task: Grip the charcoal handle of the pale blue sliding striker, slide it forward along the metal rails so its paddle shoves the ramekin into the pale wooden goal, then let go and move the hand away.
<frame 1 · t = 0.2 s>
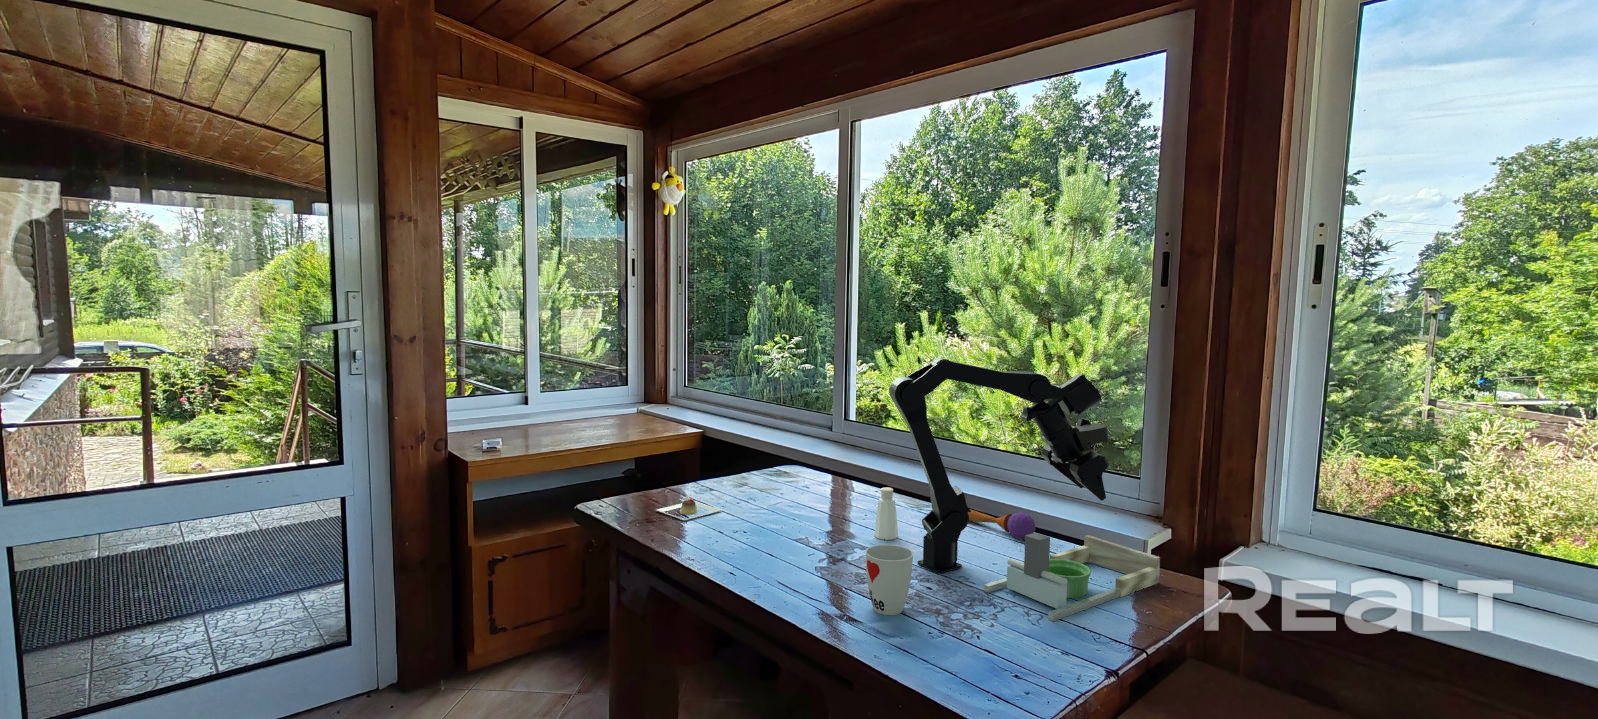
hand: (1092, 493, 144), 15 cm above the table, tool tilted 30°, fingers open, 9 cm apart
maraca: (995, 531, 167), on the table
goal: (1102, 576, 139), on the table
pepper shaker: (886, 536, 162), on the table
dessert: (688, 514, 180), on the table
cup: (888, 609, 123), on the table
striker: (1036, 566, 127), point 6 cm above the table, slide at 0.0 cm
ramekin: (1063, 591, 132), resting in goal
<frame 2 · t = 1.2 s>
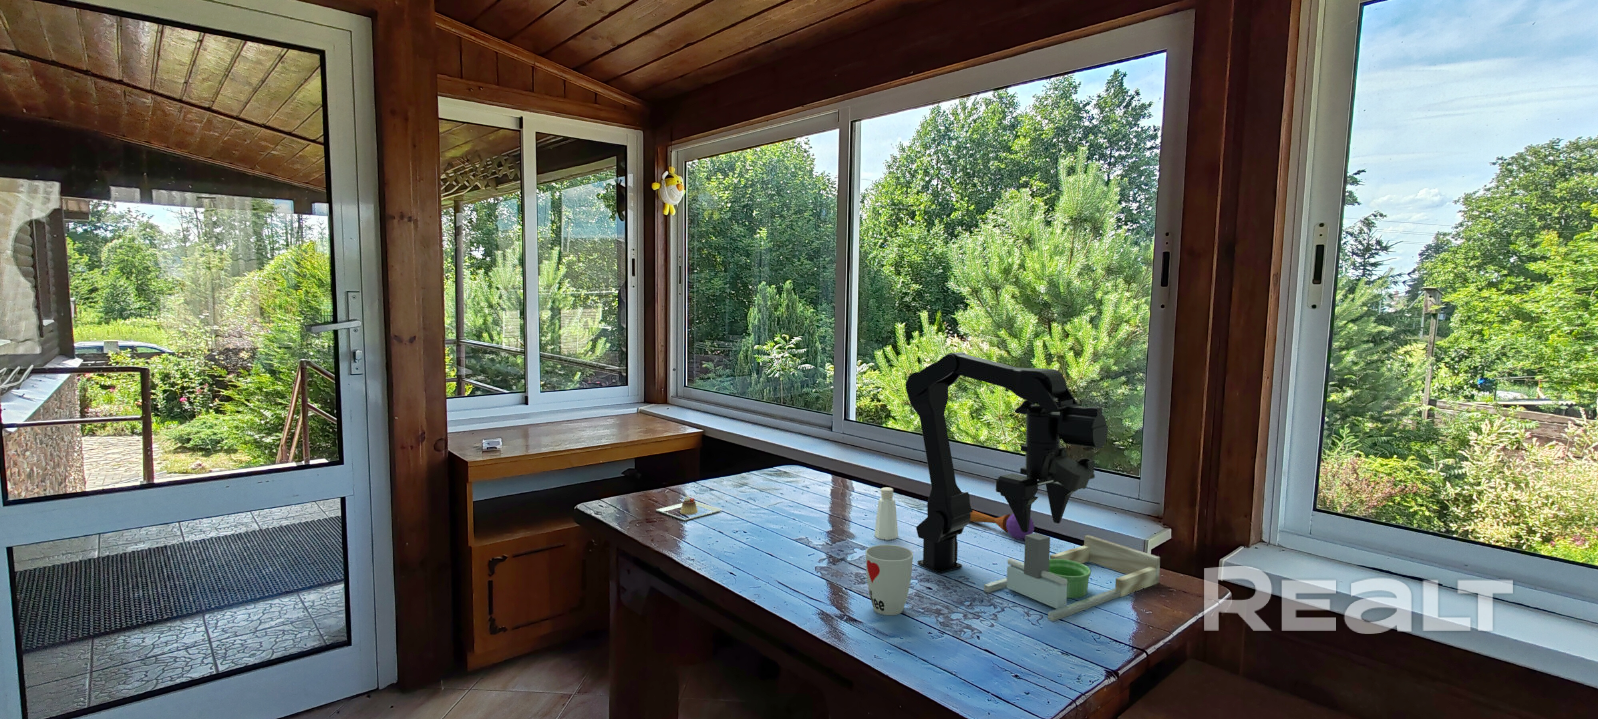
hand: (1041, 527, 127), 13 cm above the table, tool pointing down, fingers open, 9 cm apart
nothing on the table moved.
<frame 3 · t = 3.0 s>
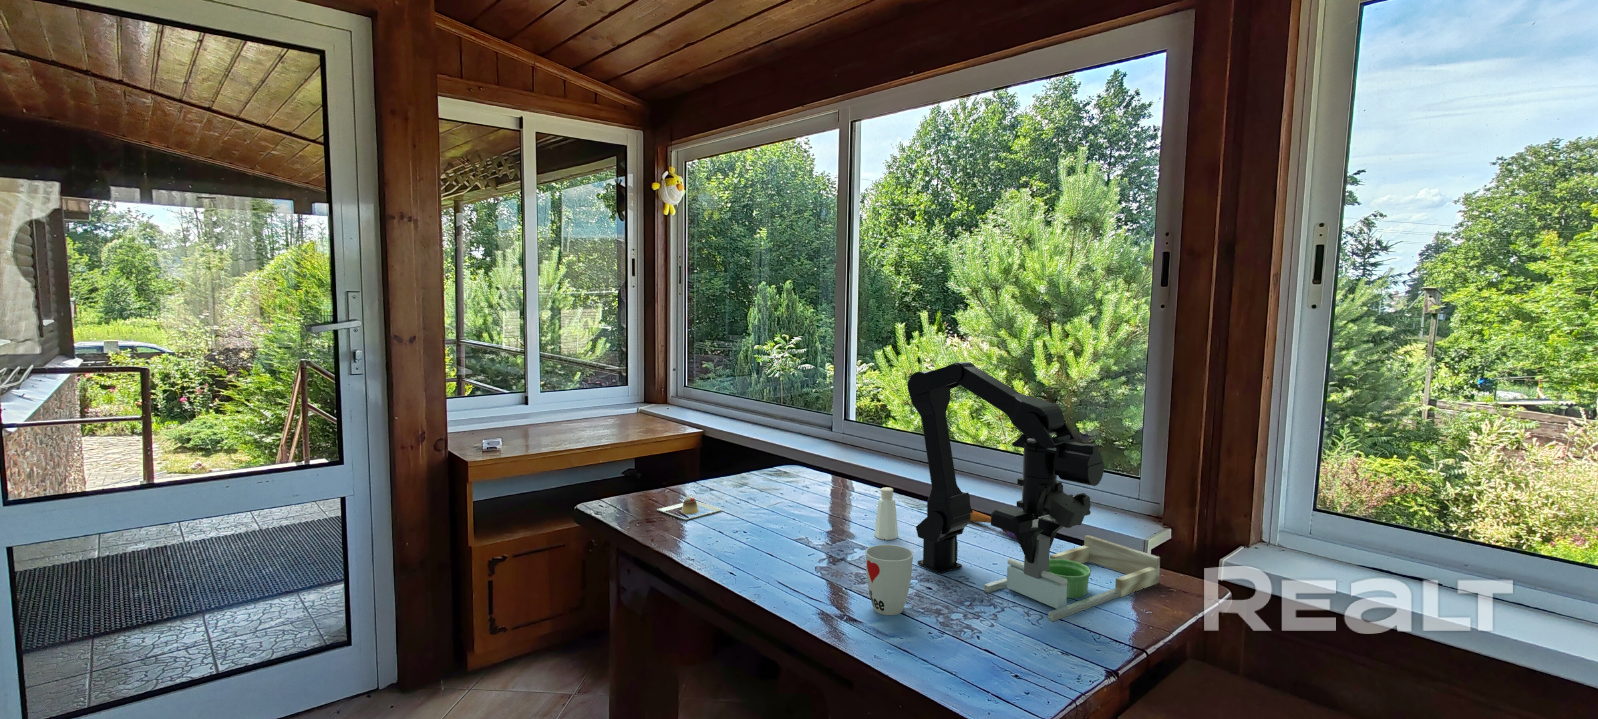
hand: (1036, 560, 127), 7 cm above the table, tool pointing down, fingers closed on striker, 3 cm apart
striker: (1036, 566, 127), point 6 cm above the table, slide at 0.0 cm, touching gripper
everything else where it was.
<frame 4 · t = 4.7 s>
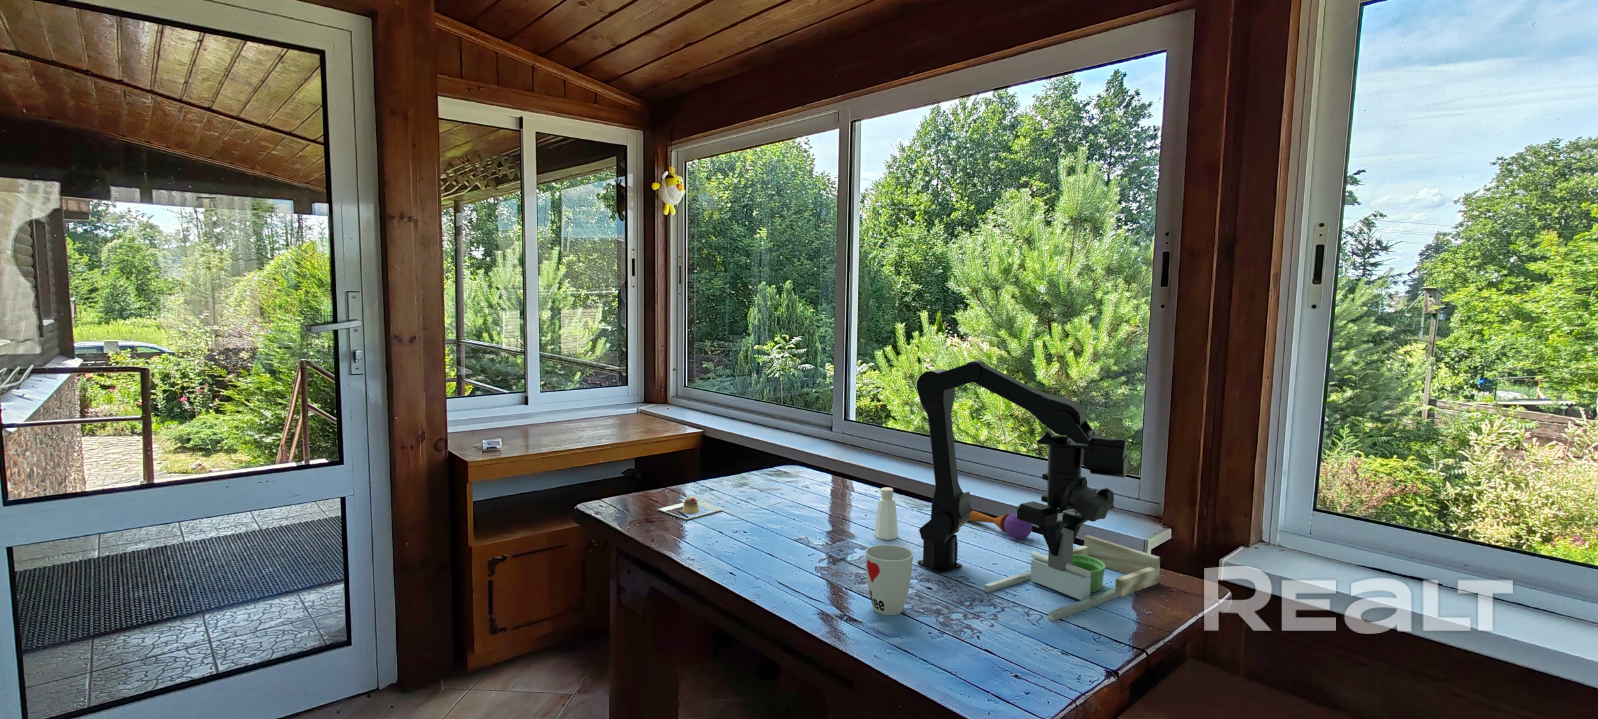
hand: (1060, 553, 131), 7 cm above the table, tool pointing down, fingers closed on striker, 3 cm apart
striker: (1060, 559, 131), point 6 cm above the table, slide at 6.7 cm, touching gripper
ramekin: (1078, 585, 134), resting in goal
everything else where it was.
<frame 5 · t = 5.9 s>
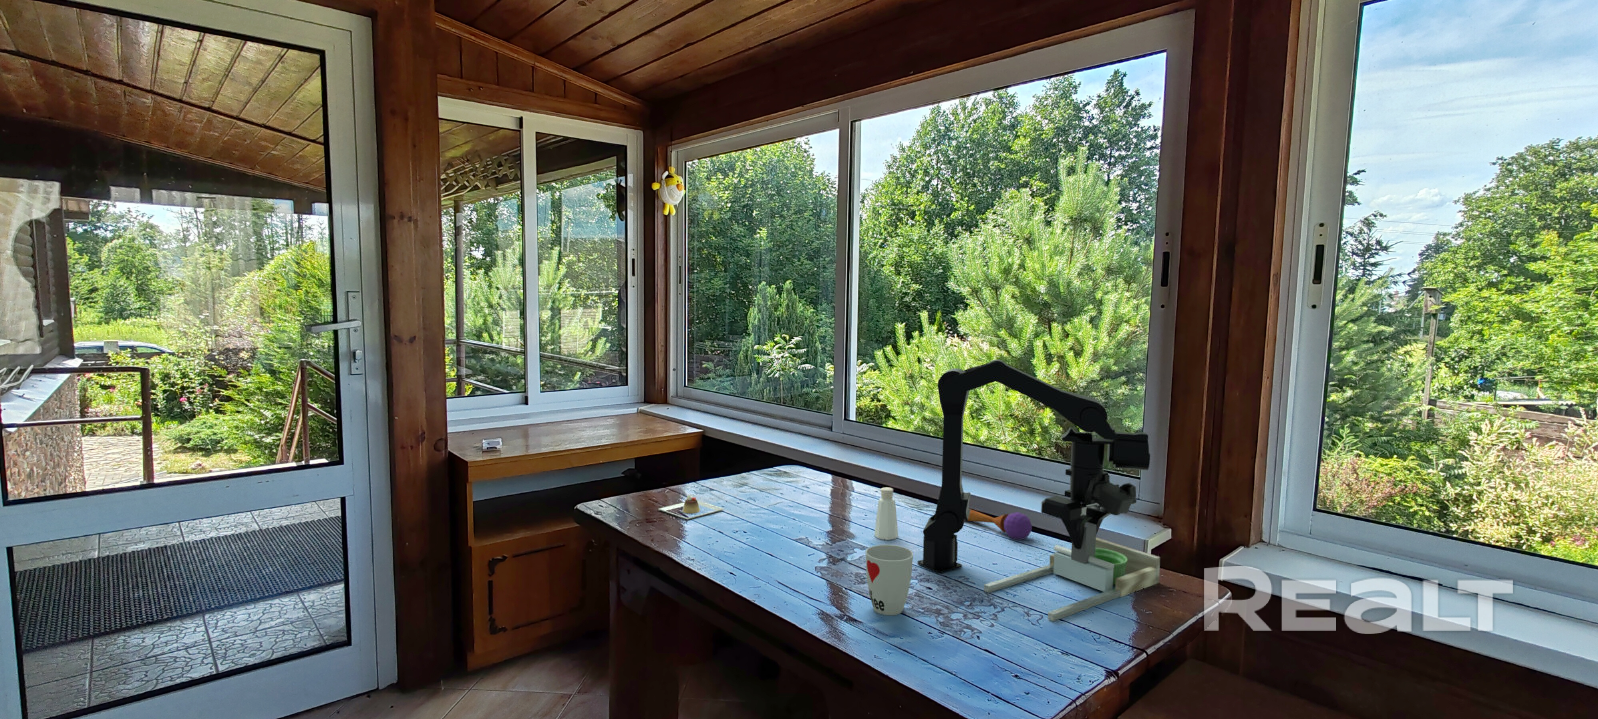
hand: (1083, 547, 135), 7 cm above the table, tool pointing down, fingers closed on striker, 3 cm apart
striker: (1083, 552, 135), point 6 cm above the table, slide at 13.5 cm, touching gripper, ramekin
ramekin: (1101, 578, 138), resting in goal, touching striker
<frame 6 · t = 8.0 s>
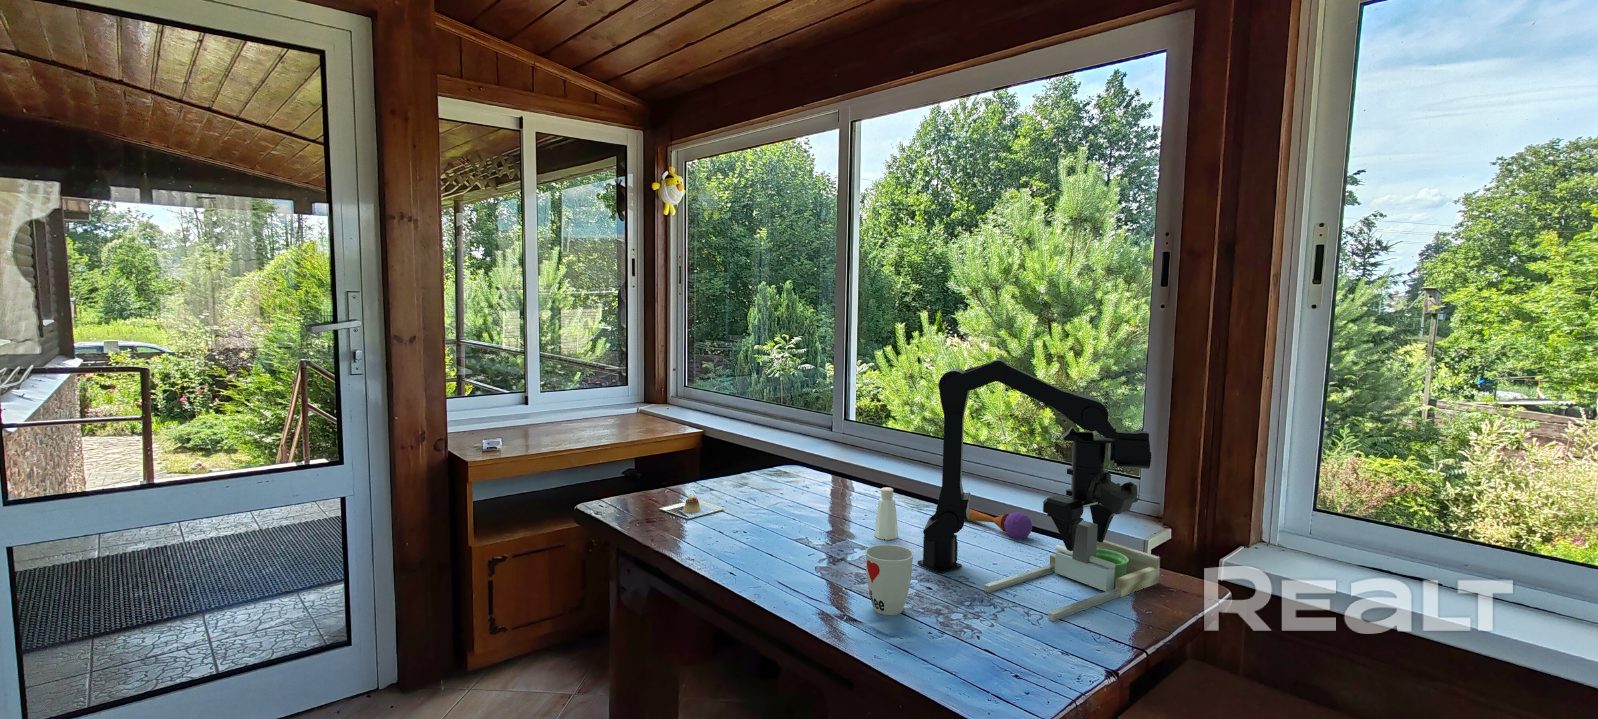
hand: (1085, 546, 135), 7 cm above the table, tool pointing down, fingers open, 9 cm apart
striker: (1084, 551, 135), point 6 cm above the table, slide at 13.9 cm
ramekin: (1102, 578, 138), resting in goal
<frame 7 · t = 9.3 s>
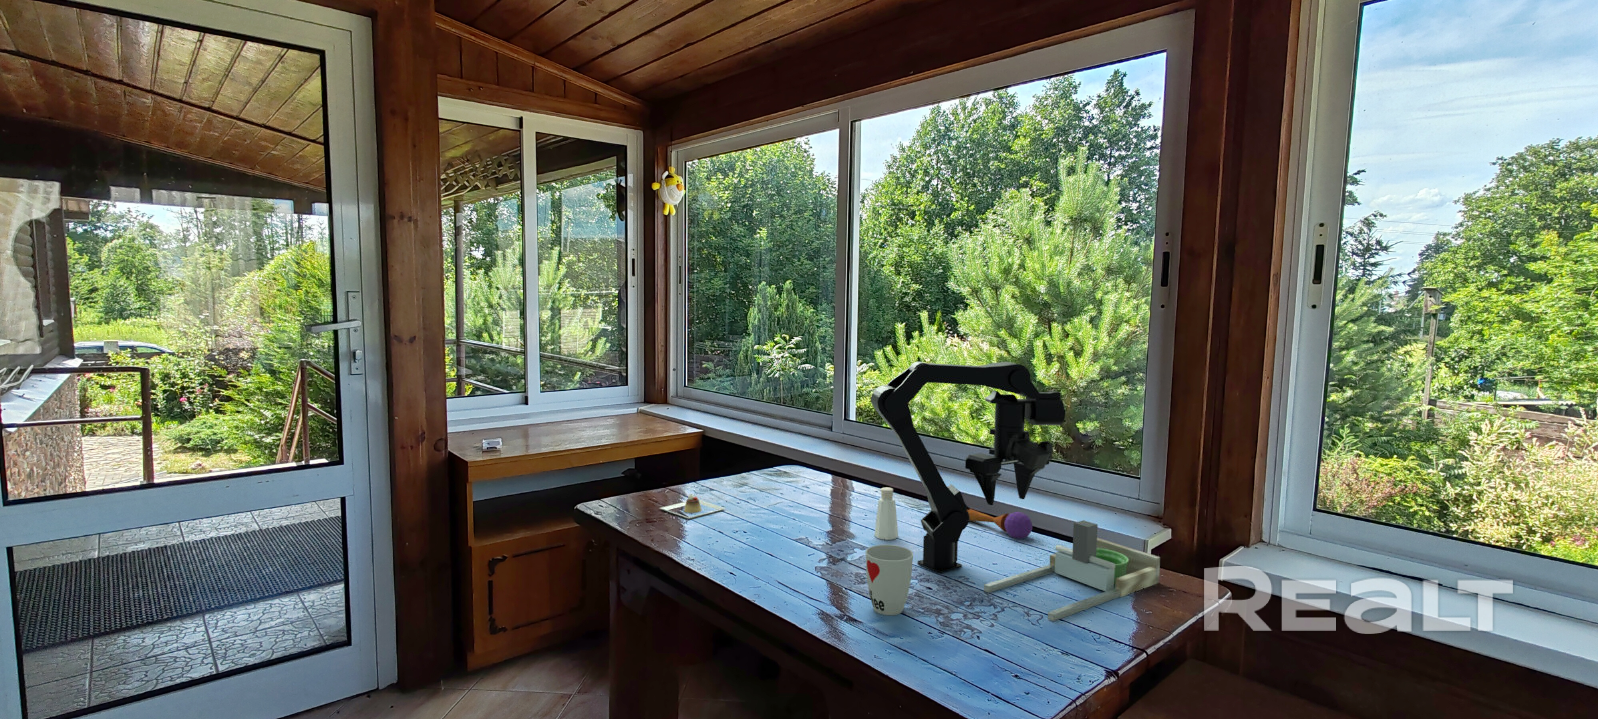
hand: (1006, 501, 144), 13 cm above the table, tool pointing down, fingers open, 9 cm apart
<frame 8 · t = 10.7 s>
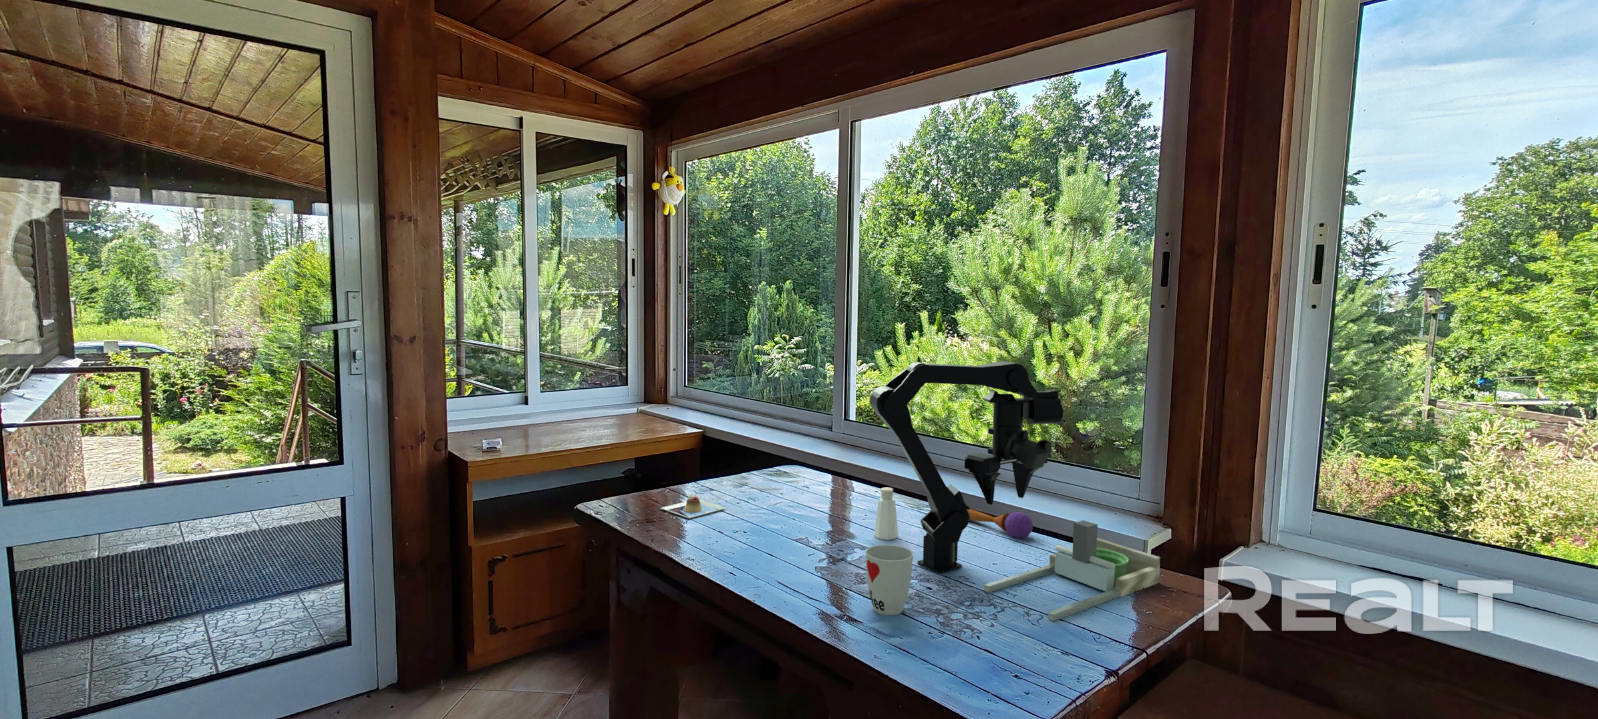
hand: (1005, 500, 144), 13 cm above the table, tool pointing down, fingers open, 9 cm apart
at the end: ramekin 0.3 cm off-centre on the goal, point 0.0 cm above the goal's base; ramekin tilted 0°; the gripper is holding nothing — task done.
